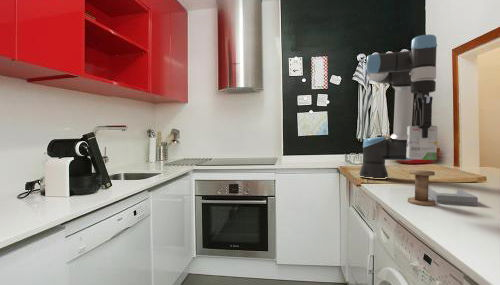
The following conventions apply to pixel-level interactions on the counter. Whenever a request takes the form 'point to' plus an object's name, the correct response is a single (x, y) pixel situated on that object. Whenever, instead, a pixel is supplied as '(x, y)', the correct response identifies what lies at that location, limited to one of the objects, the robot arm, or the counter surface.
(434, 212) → the counter surface
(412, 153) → the ink box
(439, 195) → the grey piece
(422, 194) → the bobbin
